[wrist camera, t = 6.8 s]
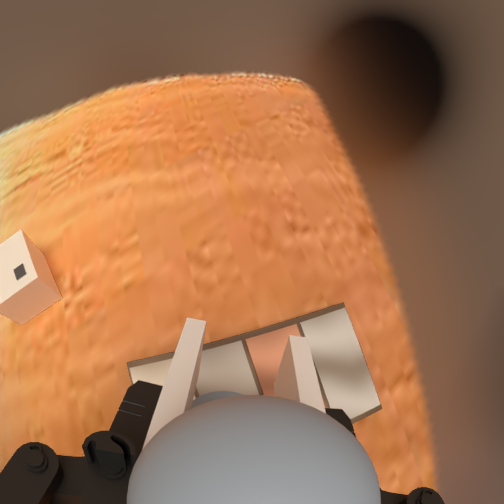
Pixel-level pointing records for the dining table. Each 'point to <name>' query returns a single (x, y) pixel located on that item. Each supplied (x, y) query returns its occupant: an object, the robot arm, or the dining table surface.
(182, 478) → the pawn
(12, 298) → the die
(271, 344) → the board
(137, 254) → the dining table surface
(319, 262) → the dining table surface
